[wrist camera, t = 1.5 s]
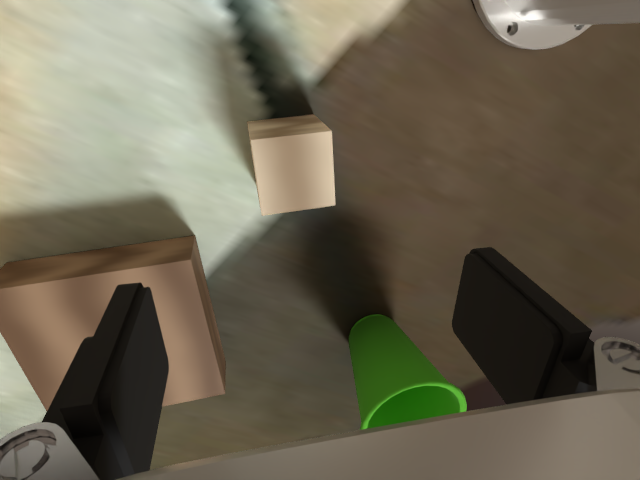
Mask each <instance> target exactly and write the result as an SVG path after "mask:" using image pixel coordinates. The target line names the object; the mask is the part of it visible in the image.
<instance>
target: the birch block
mask: <svg viewBox="0 0 640 480" xmlns="http://www.w3.org/2000/svg"><path fill="white" fill-rule="evenodd" d="M247 125H248V131H249V138H250V145H251V152H252V158H253V165H254V172H255V178H256V185H257V191H258V197H259V202H260V208H261V214H262V216H263V215H270V214H278V213H285V212H292V211H299V210H306V209H313V208H320V207H327V206H334V205H335V187H334V167H333V147H332V131H331V130H330V129H329V128H328V127H327V126H326V125H325V124H324V123H323V122H321V121H320V120H319V119H318V118H317V117H316V116H315V115H314V114H313V115H304V116H294V117H285V118H275V119H265V120H256V121H247Z"/></svg>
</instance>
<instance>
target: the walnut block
mask: <svg viewBox="0 0 640 480" xmlns="http://www.w3.org/2000/svg"><path fill="white" fill-rule="evenodd" d="M130 283H142V285H143V287H150V289H151V292H152V296H153V300H154V304H155V308H156V312H157V316H158V320H159V324H160V328H161V332H162V336H163V340H164V344H165V348H166V352H167V356H168V361H169V373H168V378H167V383H166V388H165V393H164V398H163V403H162V406H167V405H172V404H177V403H182V402H187V401H192V400H197V399H201V398H206V397H211V396H216V395H221V394H225V370H226V361H225V357H224V353H223V348H222V344H221V340H220V336H219V332H218V328H217V324H216V320H215V316H214V311H213V307H212V303H211V299H210V295H209V291H208V287H207V283H206V279H205V274H204V270H203V266H202V262H201V258H200V254H199V250H198V246H197V241H196V237H195V235H194V236H187V237H180V238H174V239H167V240H160V241H153V242H146V243H139V244H132V245H125V246H118V247H111V248H104V249H97V250H90V251H83V252H77V253H70V254H63V255H56V256H49V257H42V258H35V259H28V260H21V261H14V262H7V263H6V264H5V265H4V266H3V267H2V268H1V269H0V332H1V334H2V336H3V337H4V339H5V341H6V342H7V344H8V346H9V348H10V349H11V351H12V353H13V354H14V356H15V358H16V360H17V361H18V363H19V365H20V366H21V368H22V370H23V371H24V373H25V375H26V377H27V378H28V380H29V382H30V383H31V385H32V387H33V389H34V390H35V392H36V394H37V395H38V397H39V399H40V400H41V402H42V404H43V406H44V407H45V409H46V411H48V409H49V407H50V405H51V403H52V401H53V399H54V397H55V395H56V393H57V391H58V389H59V387H60V385H61V383H62V381H63V379H64V377H65V375H66V373H67V371H68V369H69V367H70V365H71V363H72V361H73V359H74V357H75V355H76V352H77V350H78V348H79V346H80V344H81V343H82V341H83V340H84V339H85V338H87V337H91V336H94V334H95V331H96V329H97V327H98V325H99V323H100V321H101V319H102V317H103V314H104V312H105V310H106V308H107V306H108V304H109V302H110V299H111V297H112V295H113V293H114V291H115V289H116V287H117V285H120V284H130Z"/></svg>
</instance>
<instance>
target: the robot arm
mask: <svg viewBox="0 0 640 480" xmlns="http://www.w3.org/2000/svg"><path fill="white" fill-rule="evenodd" d="M473 3H474V6H475V9H476V11H477V14H478V16H479V17H480V19H481V21H482V22H483V24H484V25H485V27H486V28H487V29H488V30H489V31H490V32H491V33H492V34H493V35H494V36H495V37H496V38H497V39H499V40H500V41H502V42H504V43H505V44H507V45H510V46H513V47H517V48H520V49H533V50H535V49H547V48H551V47H555V46H558V45H561V44H564V43H566V42H567V41H569V40H571V39H573V38H575V37H577V36H578V35H580V34H581V33H582V32H584V31H585V30H586V29H587V28H589V27H590V26H591V25H592V24H620V23H640V0H473ZM507 28H508V29H507ZM452 327H453V331H454V333H455V334H456V336H457V337H458V338H459V340H460V341H461V343H462V344H463V345H464V347H465V348H466V349H467V351H468V352H469V354H470V355H471V356H472V358H473V359H474V360H475V362H476V363H477V365H478V366H479V367H480V369H481V370H482V371H483V373H484V374H485V375H486V377H487V378H488V380H489V381H490V382H491V384H492V385H493V386H494V388H495V389H496V391H497V392H498V393H499V395H500V396H501V397H502V398H503V400H504V401H505V403H506V404H507V405H502V406H496V407H490V408H484V409H478V410H472V411H466V412H460V413H454V414H448V415H443V416H437V417H431V418H425V419H420V420H414V421H408V422H402V423H397V424H391V425H385V426H380V427H374V428H368V429H363V430H357V431H351V432H345V433H340V434H334V435H329V436H323V437H318V438H312V439H307V440H301V441H296V442H290V443H285V444H279V445H273V446H268V447H262V448H257V449H251V450H246V451H240V452H235V453H230V454H225V455H220V456H215V457H210V458H205V459H200V460H195V461H190V462H185V463H180V464H174V465H170V466H166V467H161V468H157V469H153V470H150V464H151V459H152V454H153V449H154V444H155V439H156V434H157V429H158V424H159V419H160V414H161V409H162V403H163V398H164V393H165V388H166V383H167V378H168V373H169V361H168V356H167V352H166V348H165V344H164V340H163V336H162V332H161V328H160V324H159V320H158V316H157V312H156V308H155V304H154V300H153V296H152V292H151V289H150V287H143V285H142V283H130V284H120V285H117V287H116V289H115V291H114V293H113V295H112V297H111V299H110V302H109V304H108V306H107V308H106V310H105V312H104V314H103V317H102V319H101V321H100V323H99V325H98V327H97V329H96V331H95V334H94V336H91V337H87V338H85V339H84V340H83V341H82V343H81V344H80V346H79V348H78V350H77V352H76V355H75V357H74V359H73V361H72V363H71V365H70V367H69V369H68V371H67V373H66V375H65V377H64V379H63V381H62V383H61V385H60V387H59V389H58V391H57V393H56V395H55V397H54V399H53V401H52V403H51V405H50V407H49V409H48V411H47V413H46V415H45V417H44V419H43V421H42V423H34V424H30V425H27V426H24V427H21V428H19V429H17V430H15V431H13V432H11V433H9V434H7V435H6V436H5V437H3V438H2V439H0V480H640V345H638V344H636V343H634V342H631V341H628V340H626V339H620V338H616V337H605V338H600V339H598V340H597V341H596V342H595V343H594V342H593V341H591V340H590V339H589V336H590V334H591V332H592V330H591V329H589V328H588V327H587V326H586V325H585V324H583V323H582V322H581V321H580V320H579V319H577V318H576V317H575V316H574V315H573V314H571V313H570V312H569V311H568V310H567V309H565V308H564V307H563V306H562V305H561V304H559V303H558V302H557V301H556V300H555V299H553V298H552V297H551V296H550V295H549V294H548V293H546V292H545V291H544V290H543V289H542V288H540V287H539V286H538V285H537V284H536V283H534V282H533V281H532V280H531V279H530V278H528V277H527V276H526V275H525V274H524V273H522V272H521V271H520V270H519V269H518V268H516V267H515V266H514V265H513V264H512V263H510V262H509V261H508V260H507V259H506V258H504V257H503V256H502V255H501V254H500V253H498V252H497V251H496V250H495V249H493V248H492V247H487V248H477V249H472V250H471V251H470V253H469V254H467V255H466V256H465V260H464V265H463V270H462V275H461V280H460V285H459V290H458V295H457V300H456V304H455V309H454V314H453V319H452Z"/></svg>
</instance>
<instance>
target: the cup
mask: <svg viewBox="0 0 640 480" xmlns="http://www.w3.org/2000/svg"><path fill="white" fill-rule="evenodd" d="M348 340H349V348H350V354H351V360H352V366H353V373H354V379H355V385H356V391H357V398H358V404H359V410H360V416H361V422H362V423H361V427H360V430H363V429H368V428H374V427H380V426H385V425H391V424H397V423H402V422H408V421H414V420H420V419H425V418H431V417H437V416H443V415H448V414H454V413H460V412H466V408H467V403H466V400H465V396H464V394H463V393H462V391H461V390H460V389H459V388H458V387H456V386H455V385H453V384H451V383H448V381H447V380H446V379H445V378H444V377H443V376H442V375H441V374H440V372H439V371H438V370H437V369H436V368H435V367H434V366H433V365H432V363H431V362H430V361H429V360H428V359H427V358H426V357H425V356H424V355H423V353H422V352H421V351H420V350H419V349H418V348H417V347H416V346H415V344H414V343H413V342H412V341H411V340H410V339H409V338H408V337H407V335H406V334H405V333H404V332H403V331H402V330H401V329H400V328H399V327H398V325H397V324H396V323H395V322H394V321H393V320H392V319H390V318H389V317H386V316H384V315H379V314H374V315H369V316H366V317H364V318H362V319H360V320H359V321H358V322H356V323H355V325H354V326H353V327H352V329H351V331H350V335H349V339H348Z"/></svg>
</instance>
